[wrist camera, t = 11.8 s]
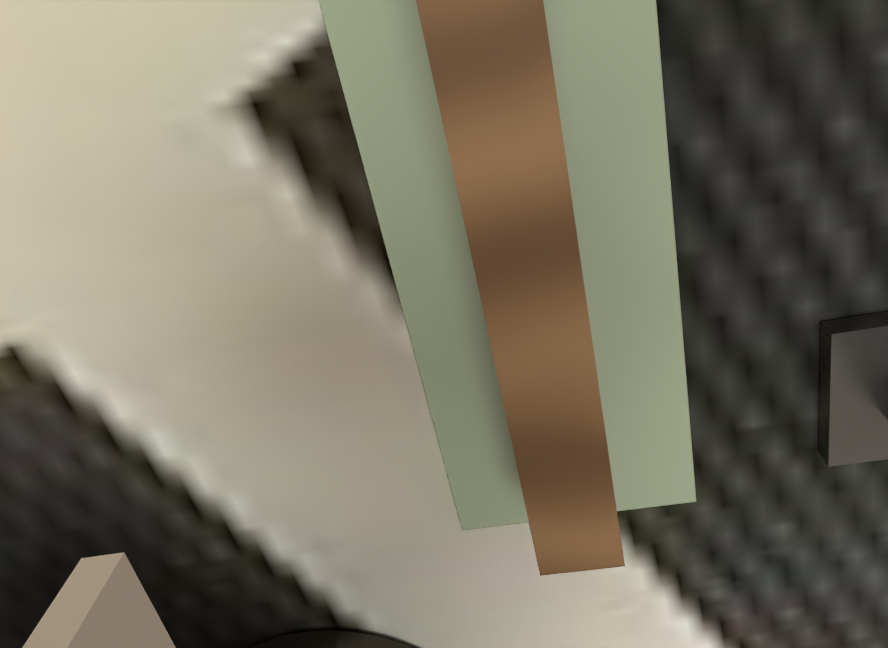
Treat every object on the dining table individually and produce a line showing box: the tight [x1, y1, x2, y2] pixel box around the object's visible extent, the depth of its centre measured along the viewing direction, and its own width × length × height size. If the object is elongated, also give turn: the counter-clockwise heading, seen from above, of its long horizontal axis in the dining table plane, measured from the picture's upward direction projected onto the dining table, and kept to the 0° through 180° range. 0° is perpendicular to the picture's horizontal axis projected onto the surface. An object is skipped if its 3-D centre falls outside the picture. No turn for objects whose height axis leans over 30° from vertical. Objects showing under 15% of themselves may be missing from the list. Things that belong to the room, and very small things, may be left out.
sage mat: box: [319, 0, 696, 530], centre depth 25 cm, size 28×10×1 cm, turn 12°
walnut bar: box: [416, 0, 625, 575], centre depth 23 cm, size 24×3×5 cm, turn 12°
